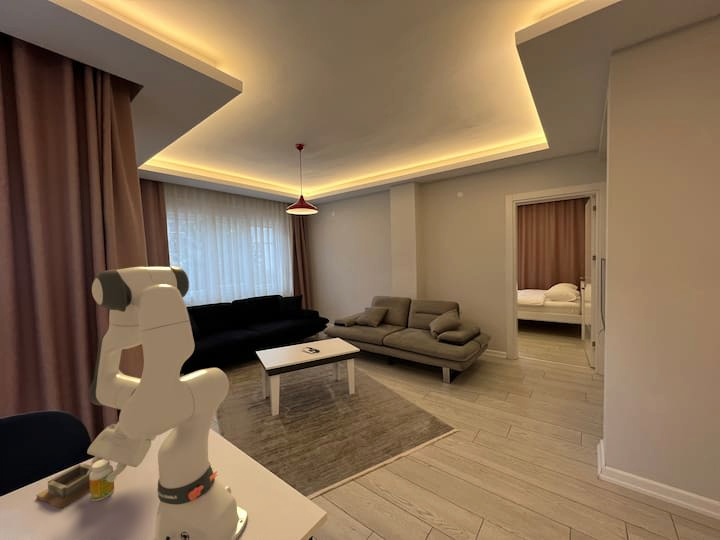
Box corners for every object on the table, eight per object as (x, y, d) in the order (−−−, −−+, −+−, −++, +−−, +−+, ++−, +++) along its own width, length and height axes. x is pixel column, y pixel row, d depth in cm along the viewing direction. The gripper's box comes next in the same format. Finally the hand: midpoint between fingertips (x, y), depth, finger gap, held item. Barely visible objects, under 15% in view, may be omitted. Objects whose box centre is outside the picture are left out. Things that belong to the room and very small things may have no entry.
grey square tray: (109, 478, 96) (108, 466, 96) (61, 508, 84) (60, 495, 84) (85, 470, 100) (84, 458, 99) (36, 498, 88) (35, 485, 88)
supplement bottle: (100, 502, 86) (98, 470, 86) (86, 500, 87) (83, 468, 87) (119, 488, 91) (117, 457, 91) (105, 486, 92) (102, 456, 92)
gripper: (102, 420, 98) (67, 469, 89) (146, 430, 92) (113, 484, 83) (117, 425, 103) (86, 473, 94) (161, 435, 96) (131, 487, 87)
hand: (99, 478), depth 88 cm, fingers open, 7 cm apart
